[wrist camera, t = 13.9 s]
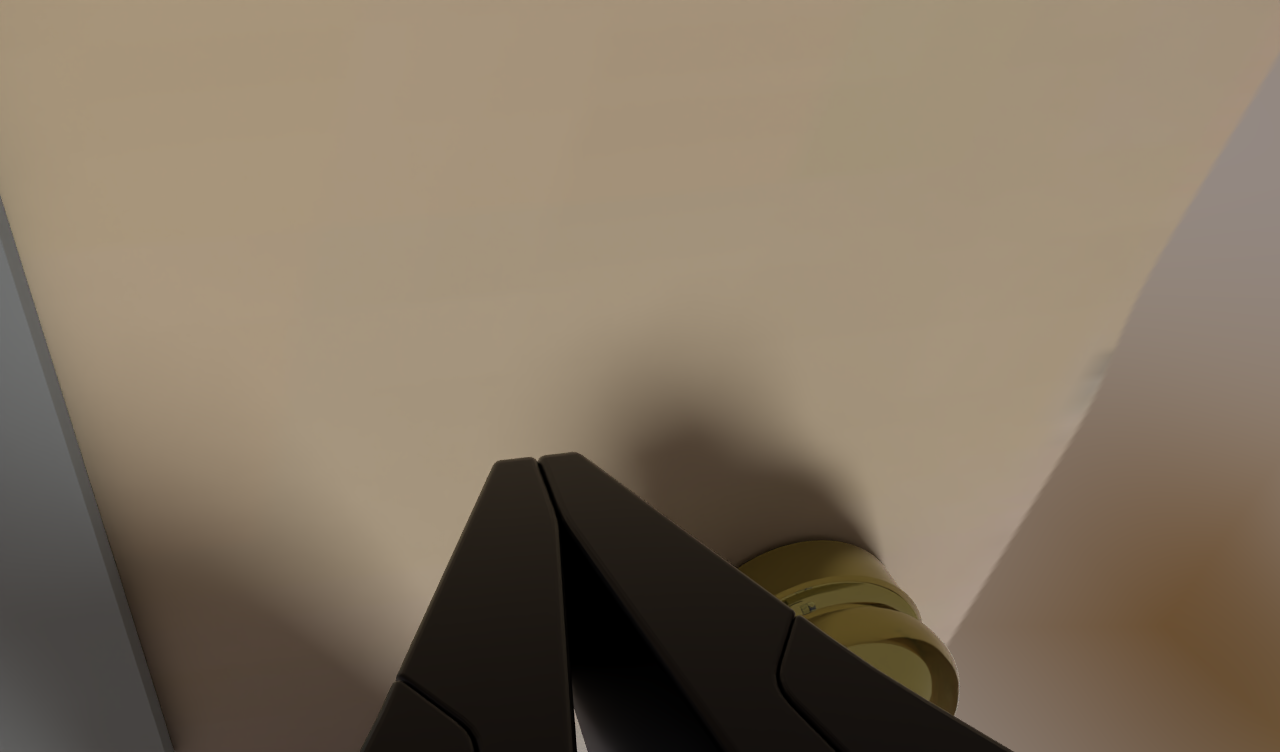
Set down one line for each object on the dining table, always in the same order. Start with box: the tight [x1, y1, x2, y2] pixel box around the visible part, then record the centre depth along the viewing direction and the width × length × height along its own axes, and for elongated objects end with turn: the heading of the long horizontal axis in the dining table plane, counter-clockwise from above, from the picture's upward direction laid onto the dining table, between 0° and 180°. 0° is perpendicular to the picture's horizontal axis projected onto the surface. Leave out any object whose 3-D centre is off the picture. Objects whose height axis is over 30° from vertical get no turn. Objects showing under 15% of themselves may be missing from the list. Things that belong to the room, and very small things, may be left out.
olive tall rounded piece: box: [738, 540, 960, 716], centre depth 26 cm, size 7×7×10 cm
